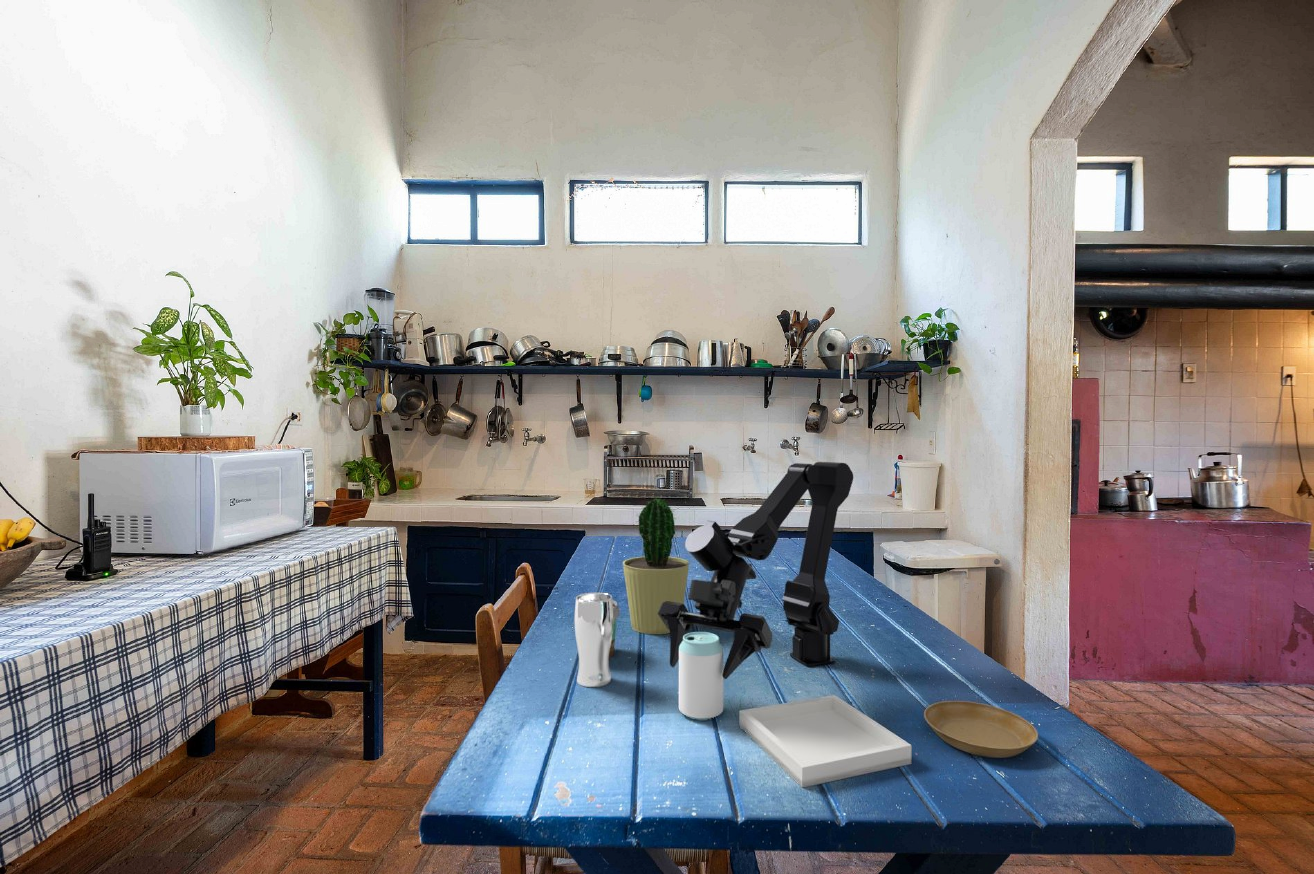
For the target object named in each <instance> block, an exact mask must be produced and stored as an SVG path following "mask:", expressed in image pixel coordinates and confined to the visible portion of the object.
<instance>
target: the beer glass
mask: <svg viewBox="0 0 1314 874" xmlns="http://www.w3.org/2000/svg"><path fill="white" fill-rule="evenodd" d="M612 600H613V596H612V595H611V594H610V593H605V592H585V593H581V594H578V595H577V596H576V597H575V605H574V606H575V607H574V633H575V635H574V636H575V641H576V646H577V652H578V653H577V654H578V670H577V677H576V683H577V684H578V685H579V686H581V687H585V688H599V687H603V686H606V685H608V684H609V683H610V682H611V681H612V676H611V670H610V665H609V664H610V660H609V659H610V658H609V652H610V646H611V640H612V634H613V621H614V618H613V602H612Z"/></svg>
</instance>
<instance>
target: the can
mask: <svg viewBox="0 0 1314 874" xmlns="http://www.w3.org/2000/svg"><path fill="white" fill-rule="evenodd" d="M723 670H724V647H723V645H722V643H721V641H720V637H719V635H717V634H715V633H712V632H707V631H693V632H687V634H685V635H684V636H683V641H682V643H681V644H680V646H679V660H678V709H679V712H680V713H682V714H683V715H684V716H685V715H686V716H685V717H687V716H688V717H690V718H693V719H692V720H694V719H699V720H698V721H707V720H706V719H710V720H712V719H711V718H713V719H715V718H717V717H718V716H720V715H721V714H722V713H723V711H724V678H723V676H722V674H723ZM716 716H717V717H716ZM688 717H687V718H688ZM714 717H715V718H714ZM690 718H689V719H690Z"/></svg>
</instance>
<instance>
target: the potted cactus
mask: <svg viewBox="0 0 1314 874" xmlns="http://www.w3.org/2000/svg"><path fill="white" fill-rule="evenodd" d="M646 503H647V504H645V506H644V507H641V511H640V512H639V513H637V516H638V520H637V521H635V523H638V531H635V534H636V533H638V535H639V537H641V538H639V541H642V542H641V546H642V548H641V549H642V551H643V555H644V556H637V557H631V558H627V559H624V561H622V565H623V576H624V581H625V588H626V596H627V603H628V610H629V616H630V617H629V618H630V625H631V628H632V630H633V631H635V632H638V633H640V634H646V635H667V634H670V630H669V629H667V627H666V626H665V624H664V623H663V621H662V619H661V618H660V616H659V615H658V611H659V608H660V606H661V604H662V603H663V602H665V601H670V602H677V603H683V604H684V605H685V597H686V589H687V583H688V575H689V569H690V568H689V567H690V562H689V560H686V559H683V558H681V557H674V556H671V554H673V552H672V548H673V547H674V545H673V543H674V540H675V539H676V540H677V538H678V536H677V534H676V531H677V530H678V529H676V528H675V527H676V525H675V520H677V519H678V518H677V517H674V516H675V513H674V512H675V509H673V508H672V507H671V506H669V505H668V502H667V501H666V500H664V499H662V498H652V500H647V501H646Z"/></svg>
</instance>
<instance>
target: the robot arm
mask: <svg viewBox="0 0 1314 874" xmlns="http://www.w3.org/2000/svg"><path fill="white" fill-rule="evenodd" d="M853 481H854V473H853V471H852V469H851V468H850V466H849V465H848V463H846V462H835V461H833V462H831V461H817V462H815V463H813V464H812V463H801V462H800V463H799V462H795V463H793V464H790V465H789V466H788V468H787V472H786V473H785V475H784V476H783V477H782V479H781V480H780V481H779V482H778V484H777V485H776V486H775V487H774V489H773V490H772V491H771V493H770V494H769V495H768V496H767V498H766V499H765V500H764V502H763V503H762V504H761V505H760V507H759V508H757V510H756V511H755V512H753V513H752V514H749V515H747V516H746V517H743V518H741V520H739V522H737V523H736V524H735V525H734V526H733V527H732V528H731V530H730V531H729V532H728V531H727V532H726V533H725V532H724V531H723V530H722V529H721V526H720V525H719V524H718V523H717V521H714V520H713V521H712V520H707V521H706V522H705V524H704V525H701V526H699V527H697V528H696V529H694V530H693V531H692V532H690V533H689V534H688V535H687V537H686V540H685V542H684V547H685V550H687V552H688V553H689V554H690V555H691V556H692V557H693V558H694V559H695V560H696V561H697V562H698V563H699V564H700V565H701V566H702V567H703V569H704V570H706V571H707V572H713V574H712V577H711V580H710V581H709V580H707V581H706V580H699V579H691V583H690V586H689V590H688V591H689V592H688V597H687V599H688V601H693V602H695V603H694V605H693V606H694V608H695V610H699V612H698V613H694V612H690V611H689V610H688V608H687V607H686V605H685V603H684V604H683V603H677V602H670V601H665V602H663V603H662V604H661V606H660V608H659V611H658V615H659V616H660V618H661V619H662V621H663V623H664V624H665V626H666V627H667V629H669V630H670V633H669V638H670V640H669V641H670V642H669V644H670V646H669V665H670V667H671V668H675V667H676V665H677V663H679V646H680V644H681V643H682V641H683V636H684V635H685V634H688V632H689V631H690V630H691V628H692V626H695V627H699V628H700V627H701V628H706V629H711V630H719V631H724V632H729V633H734V634H733V642H732V645H731V647H730V650H729V653H728V656H727V657H726V661H725V664H724V665H723V674H722V676H723V680H728V678H729V677H730V676H731V675H732V674H733V673H734V672H735V671H736V669H737V668H739V666H740V665H742V663H743V662H745V661H746V660H747V659H748V658H749V657H750V656H751V655H753V654H754V653H755V652H757V653H760V652H761V650H762V649H767V650H768V649H770V648H771V643H772V641H773V633H772V631H771V628H770V626H769V623H768V621H767V620H766V618H765V617H764V616H763V615H758V614H752V613H751V614H750V613H745V612H744V613H742V614H740V615H739V619H738V620H737V619H736V620H735V617H736V614H737V610H738V609H742V605H743V602H742V600H741V598H742V595H743V591H744V588H745V585H746V582H747V580H756V578H757V575H756V574H757V573H756V571H755V570H754V568H753V565H752V564H751V563H748V562H747V561H746V560H745V559H749V560H754V561H765V560H766V559H767V558H768V557H770V555H771V553H772V552H773V550H774V547H775V546H776V544H777V542H778V540H779V529H780V527H781V525H782V524H783V523H784V522H785V520H786V519H787V518H788V516H789V514H790V513H791V512H792V511H793V509H794V508H795V506H796V505H797V504H798V503H799V501H800V500H801V499H802V498H803V496H804V495H805V493H806V492H807V491H808V494H809V497H810V500H811V503H812V504H811V508H810V515H809V519H808V525H807V530H806V535H805V540H804V545H803V549H802V550H803V551H802V556H801V561H800V567H799V571H798V574H797V575H796V576H795V578H794V579H793V580H787V581H786V582H785V585H784V586H785V587H784V594H783V596H782V599H781V601H783V604H782V609H783V612H784V613H785V616H786V620H787V625H788V626H793V627H794V632H793V633H794V635H792V652H789V656H790V657H791V658H793V659H795V661H797V662H799V663H801V664H803V665H804V666H805V667H814V666H821V665H829V664H834V663H836V659H834V657H831V636H832V635H834V633H836V632H837V631H838V629H839V623H840V620H839V619H838V617H837V616H836V614H834V612H833V611H832V609H830V601H831V600H830V599H831V595H830V592H829V589H828V586H827V584H826V583H827V582H826V580H825V579H826V573H827V567H828V564H829V563H828V562H829V559H830V552H831V547H832V540H833V536H834V530H835V525H836V519H837V515H838V509H839V508H840V506H841V505H842V504H843V503H844V501H845V500H846V499H848V497H849V495H850V491H851V488H852V486H853V485H852V484H853ZM744 558H745V559H744Z"/></svg>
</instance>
